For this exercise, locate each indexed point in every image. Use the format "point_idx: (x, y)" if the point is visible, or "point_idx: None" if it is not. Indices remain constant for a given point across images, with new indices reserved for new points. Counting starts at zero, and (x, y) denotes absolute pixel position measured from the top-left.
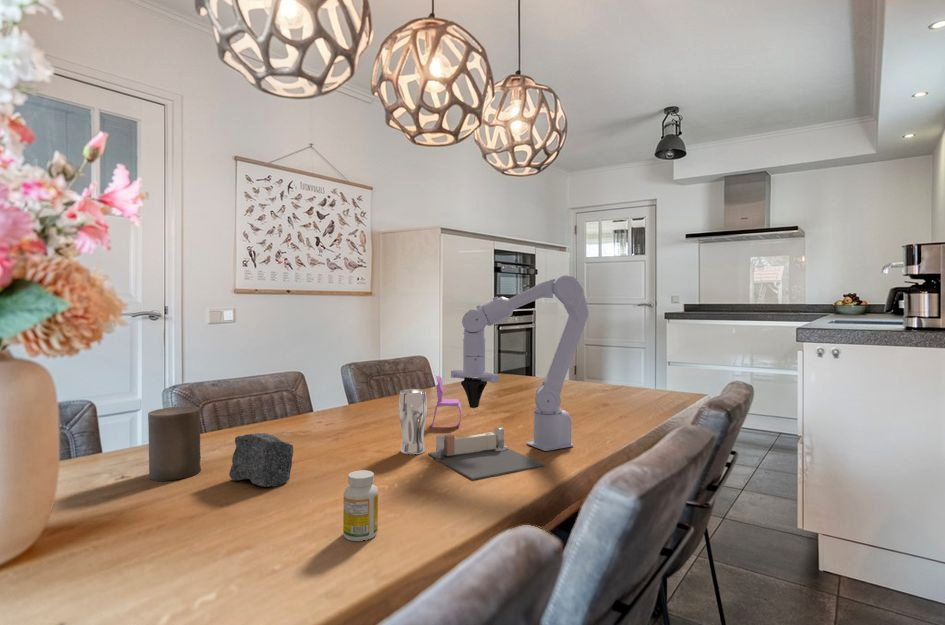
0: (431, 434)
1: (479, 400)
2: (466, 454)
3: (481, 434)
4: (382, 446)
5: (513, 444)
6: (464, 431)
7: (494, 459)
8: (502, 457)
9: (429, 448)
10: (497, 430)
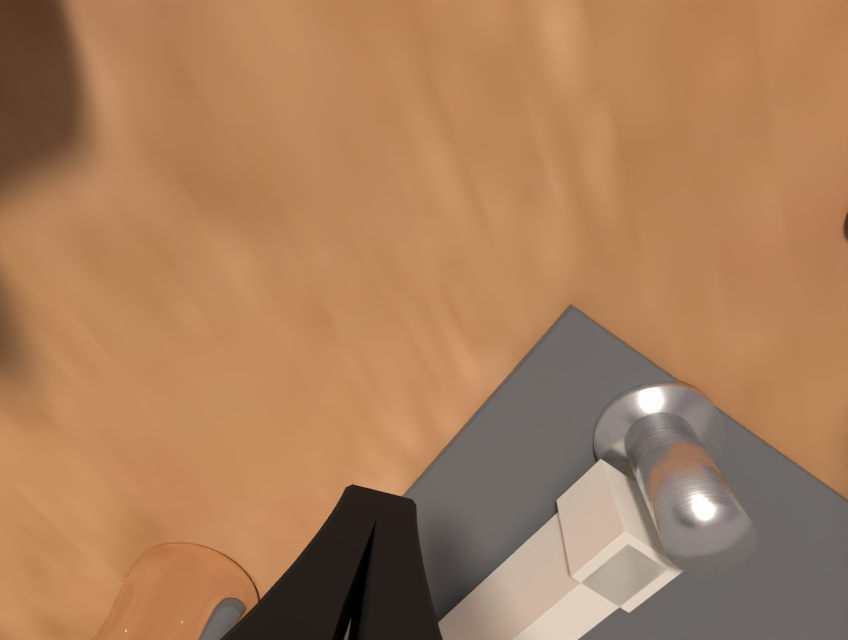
0: (11, 242)
1: (421, 567)
2: None
3: (572, 602)
4: (3, 570)
5: (728, 249)
6: (160, 12)
7: (680, 615)
8: (718, 577)
9: (234, 526)
10: (699, 567)
